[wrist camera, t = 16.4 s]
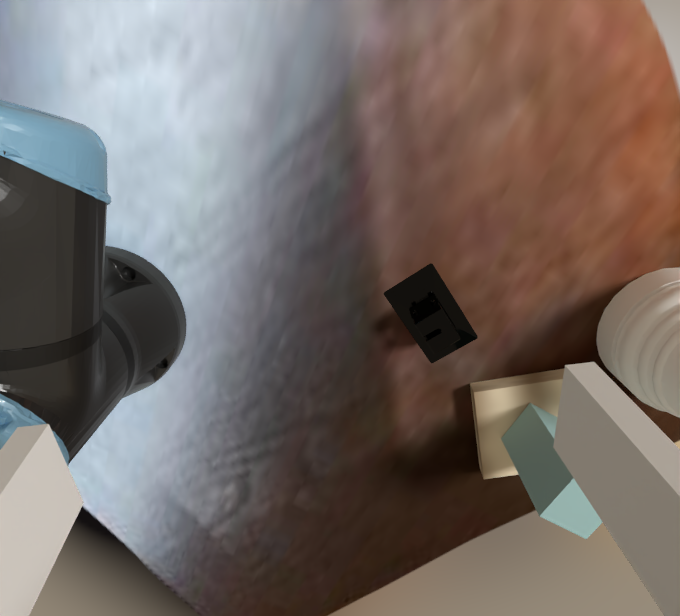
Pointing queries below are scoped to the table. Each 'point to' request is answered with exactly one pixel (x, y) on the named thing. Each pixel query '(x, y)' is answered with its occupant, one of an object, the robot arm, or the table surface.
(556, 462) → the pillar block
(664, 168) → the table surface
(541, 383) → the base slab
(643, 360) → the honey pot
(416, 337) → the black boxy piece
